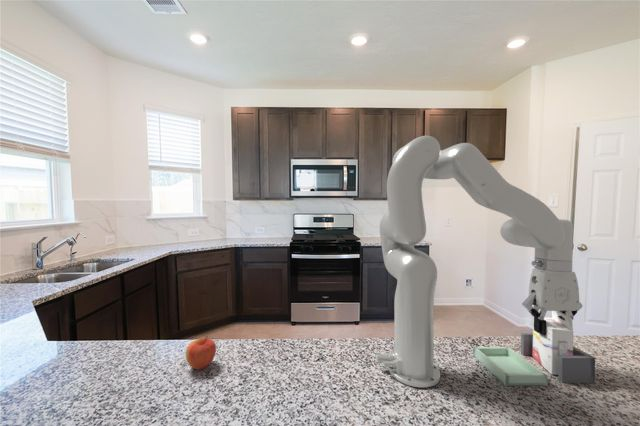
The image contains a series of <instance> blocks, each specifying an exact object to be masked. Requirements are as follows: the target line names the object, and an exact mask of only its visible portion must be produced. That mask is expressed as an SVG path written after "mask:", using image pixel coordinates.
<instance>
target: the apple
mask: <svg viewBox="0 0 640 426" xmlns="http://www.w3.org/2000/svg"><path fill="white" fill-rule="evenodd" d="M208 337H209V336H208V335H206V337H205V338H203V337H202V338H198V339H195V340H193V341H191V342H190V343H189V344H188V346H187V347H186V351H185V359H186V362H187V363H188V365H189V366H190V367H191V368H193V369H195V370H201V371H202V370H204V369H206V368H207V367H208V366H209V365H210V364H212V362H213V360H214V358H215V355H216V352H217V347H216V343H215V341H214V340H212V339H210V338H208Z"/></svg>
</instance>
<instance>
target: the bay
mask: <svg viewBox="0 0 640 426" xmlns="http://www.w3.org/2000/svg"><path fill="white" fill-rule="evenodd" d="M520 354H521V355H522V354H523V355H522V356H533V355H532V354H533V332H525V333H524V332H520ZM557 376H558V377H557V378H558V381H559V382H560V383H562V384H564V383H565V384H568V383H569V384H570V383H571V384H572V383H574V384H576V383H580V384H581V383H583V384H586V383H591V384H592V383H596V357H594V356H592V355H591V354H589V353H587V352H585V351H583V350H581V349H579V348H578V347H576V346H575V345H573V356H559V374H558V375H557Z"/></svg>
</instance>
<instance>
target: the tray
mask: <svg viewBox="0 0 640 426" xmlns="http://www.w3.org/2000/svg"><path fill="white" fill-rule="evenodd" d="M472 350H473V352H472V354H473V357H474V358H475V359H476V360H477V361H478V362H479V363H481V364H482V365H483V366H484V367H485V368H486V369H487V370H488V371H489V372H490V373H491V374H492V375H494V376H495V378H496V379H498V380H499V381H500V382H501V384H502V385H504V386H505V387H517V386H518V387H526V386H527V387H535V386H536V387H539V386H540V387H541V386H544V387H545V386H548V374H547V373H545V372H544V371H543V370H541V369H540V368H538V367H537V366H536V365H534V364H532V363H531V362H530V361H528V360H527V359H525V357H523V356H522V355H520V354H518V353H517V352H516V351H514V350H513V349H511V348H510V347H509V346H474V347H473V349H472Z"/></svg>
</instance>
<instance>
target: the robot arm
mask: <svg viewBox="0 0 640 426" xmlns="http://www.w3.org/2000/svg"><path fill="white" fill-rule="evenodd" d="M386 179H387V180H386V197H387V199H386V200H387V207H388V210H387V211H385V213H384V214H383V215H382V216H381V219H380V222H379V236H380V245H381V249H382V250H381V251H382V257H383V263H384V266H385V268H386V270H387V272H388V273H389V274H390V275H391V276H392V277H394V278H395V279H396V286H395V287H396V288H395V292H394V303H393V305H394V306H393V307H394V308H393V309H394V317H393V318H394V320H393V321H394V325H393V326H394V328H393V329H394V334H393V335H394V339H393V340H394V348H391V349H390V352H389V353H387V354H383V353H382V354H380V353H379V354H376V355H375V360H376V363H377V364H378V363H379V364H382V365H383V367H384V368H388V371H389V375H390V374H391V376H392V377H393V378H394V379H396V380H397V381H398V382H400V383H402V384H404V385H406V386H410V387H413V388H414V387H415V388H430V387H431V388H432V387H434V386H436V385H438V384H439V382H440V381H441V371H440V370H439V369H440V368H438V366H437V365H436V364H434V357H435V355H434V353H435V352H434V351H435V350H434V349H435V347H434V345H435V343H434V333H435V331H434V329H435V328H434V326H435V325H434V323H435V322H434V320H435V319H434V315H435V314H434V310H435V309H434V304H435V303H434V302H435V299H434V298H435V291H436V285H437V281H438V269H437V265H436V263H435V261H434V259H432V257H431V256H430V255H429V254H427V253H425V252H424V251H421V250H418V249H416V248H415V245H417V244H420V243H421V242H422V241H424V239H425V237H426V234H427V223H426V217H425V215H426V214H425V209H424V201H423V192H422V191H423V190H422V189H423V188H422V187H423V181H424V179H426V180H450V179H454V180H455V181H456V182H457V183H458V184H459V185H460V186H461V187H462V189H463V190H464V191H465V192H466V193H467V194H468V195H469V196H470V197H471V199H472V200H473V201H474V202H475V203H477V204H478V205H479V206H481V207H484V208H486V209H489V210H492V211H495V212H498V213H500V214H503V215H506V216H508V217H509V218H511V219H508V220H506V221H504V222H503V224H502V225H501V227H500V231H499V233H500V237H502V238H501V239H503V240H504V241H506V242H507V243H509V244H512V245H514V246H518V247H519V246H521V247H526V248H527V247H528V248H533V249H534V260H532V261H531V266H533V267H534V268H533V269H532V271H531V275H530V278H529V286H528V297H526V299H525V300H524V301H522V303H521V304H522V307H524V308H525V309H526V310H527V311H528V313H529V314H530V315H531V317H533V316H534V331H536V332H538V333H539V334H541V335H546V320H544V317H546V314H547V311H549V312H551V311H560V312H562V313H563V314H565V315H567V316H569V317H570V318H572V321H573V320H575V319H574V317H575V316H576V314H578V311H580V310H581V309H582V308H583V304H582V303H581V302H580V289H579V282H578V278H577V274H576V272H574V271H573V244H574V243H573V242H574V241H573V239H574V232H573V231H574V226H573V223H572V221H570V220H568V219H561V218H560V219H559V217H557V215H555V213H554V212H553V211H552V210H551V209H550V208H549V206H548V205H547V204H545V203H544V202H543V201H542V200H540V199H538V198H537V197H536V196H533V195H531V194H530V193H528V192H527V191H525V190H523V189H521V188H519V187H517V186H515V185H513V184H511V183H509V182H508V181H507V180H506V179H505V178H504V177H503V176H502V175H501V174H500V172H498V170H497V169H496V168H495V167H494V165H493V164H492V163H491V162H490V161H489V159H488V158H487V157H485V155H484V154H483V153H482V152H481V151H480V150H479V149H478V148H477V146H476V145H474V144H472V143H470V142H462V143H461V142H460V143H458V144H457V143H456V144H454V145H452V146H450V147H447V148H444V149H441V145H440V143H439V141H438V139H436V138H435V137H433V136H432V135H431V136H430V135H422V136H419V137H416V138H414V139H412V140H411V141H409V142H408V143H406V144H405V145H404V146H402V147H400V148H399V149H398V150H397V151H396V152H395V153H394V155H393V157H392V165H391V166H390V169H389V171H388V175H387V178H386ZM558 317H559V318H561V319H562V320H564V321H565V319H564V318H563V317H562V316H559V315H558Z"/></svg>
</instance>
